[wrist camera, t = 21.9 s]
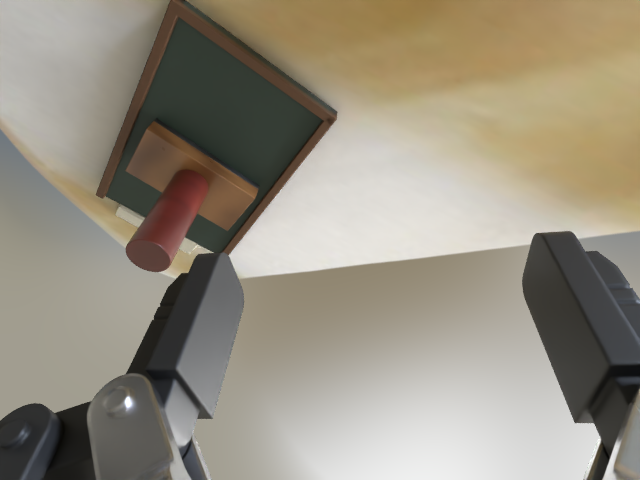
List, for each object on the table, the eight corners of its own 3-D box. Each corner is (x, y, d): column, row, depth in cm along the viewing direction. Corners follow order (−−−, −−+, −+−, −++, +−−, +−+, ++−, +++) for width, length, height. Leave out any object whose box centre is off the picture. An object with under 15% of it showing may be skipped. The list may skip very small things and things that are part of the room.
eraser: (135, 159, 38) (65, 240, 29) (156, 117, 35) (85, 194, 26) (232, 218, 42) (197, 305, 33) (259, 185, 39) (228, 272, 30)
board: (102, 187, 42) (95, 195, 41) (178, -6, 30) (170, -2, 28) (227, 252, 47) (223, 261, 46) (337, 112, 35) (336, 119, 33)
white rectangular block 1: (117, 211, 44) (114, 214, 44) (120, 203, 42) (118, 207, 42) (150, 230, 46) (148, 233, 46) (155, 223, 44) (153, 226, 44)
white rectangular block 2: (159, 235, 47) (158, 238, 46) (167, 222, 45) (166, 225, 45) (190, 251, 48) (189, 254, 48) (199, 240, 47) (198, 242, 46)
